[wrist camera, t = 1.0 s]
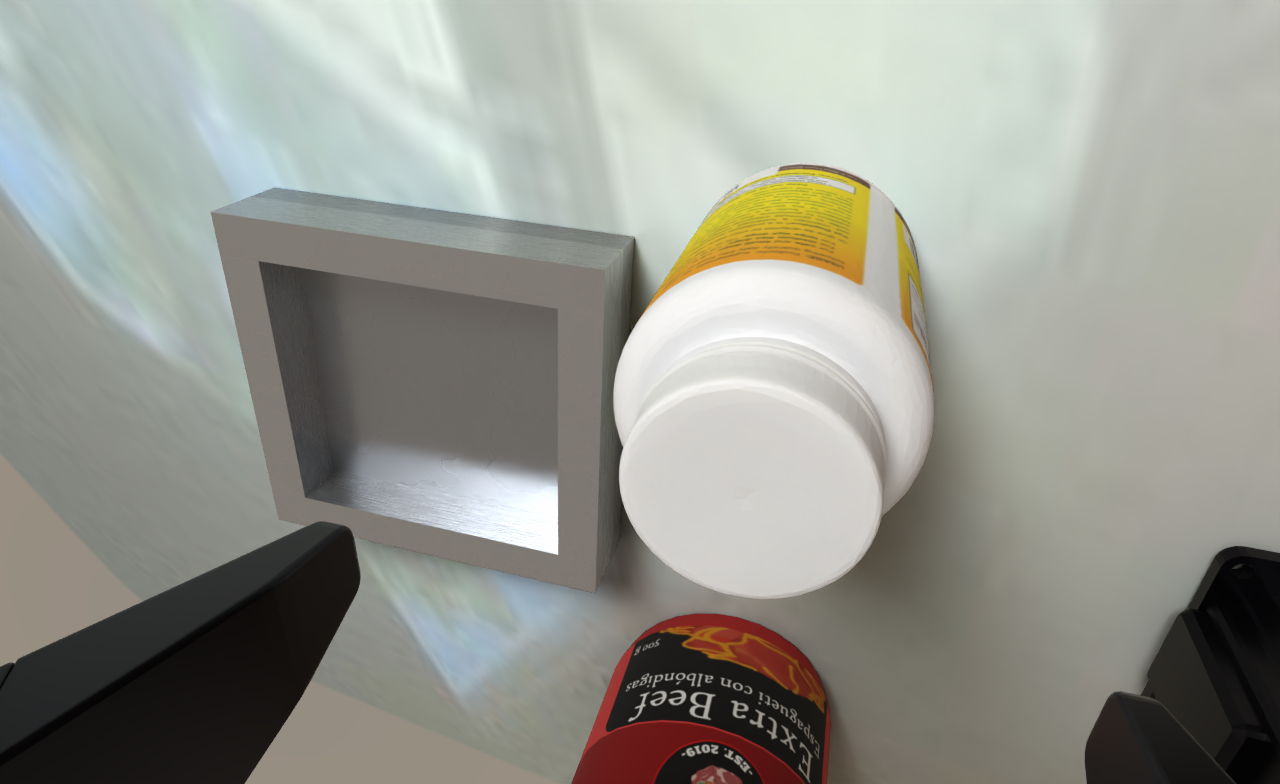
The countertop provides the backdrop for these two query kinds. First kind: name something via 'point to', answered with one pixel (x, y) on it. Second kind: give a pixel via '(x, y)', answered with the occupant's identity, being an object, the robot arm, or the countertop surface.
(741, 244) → the supplement bottle
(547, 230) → the square metal tray
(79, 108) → the countertop surface
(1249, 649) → the robot arm
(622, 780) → the canned food
